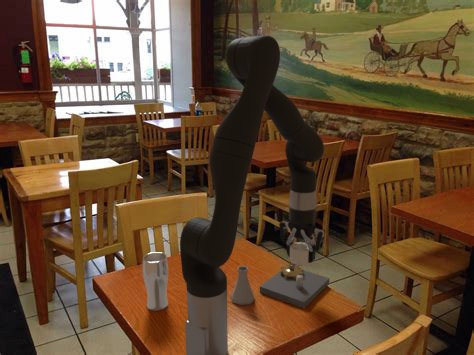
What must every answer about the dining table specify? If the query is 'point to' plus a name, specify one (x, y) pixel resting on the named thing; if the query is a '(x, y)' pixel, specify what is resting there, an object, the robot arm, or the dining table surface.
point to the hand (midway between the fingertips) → (300, 258)
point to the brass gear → (291, 271)
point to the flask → (242, 288)
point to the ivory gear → (299, 253)
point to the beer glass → (156, 280)
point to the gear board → (295, 288)
